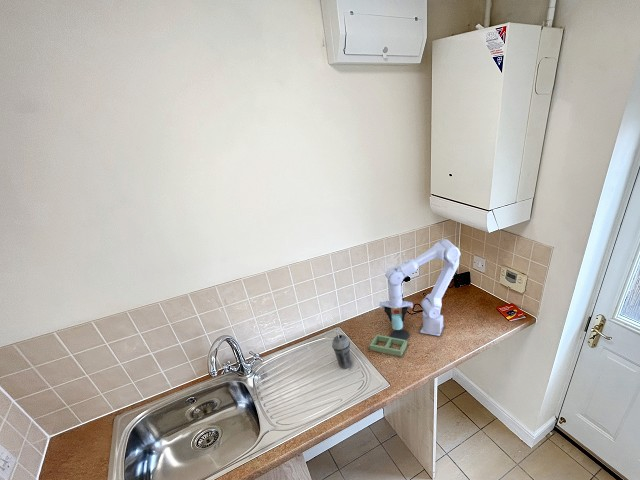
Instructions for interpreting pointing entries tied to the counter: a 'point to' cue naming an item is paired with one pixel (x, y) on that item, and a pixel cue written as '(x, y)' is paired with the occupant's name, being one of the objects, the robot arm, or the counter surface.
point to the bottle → (397, 320)
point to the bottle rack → (388, 345)
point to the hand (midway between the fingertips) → (397, 320)
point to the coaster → (400, 334)
